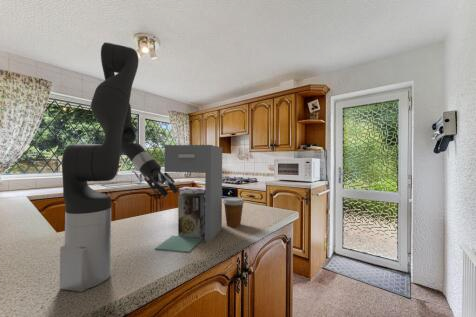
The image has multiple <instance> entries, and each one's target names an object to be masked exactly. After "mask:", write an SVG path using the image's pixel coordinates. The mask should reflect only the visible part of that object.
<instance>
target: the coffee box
mask: <svg viewBox="0 0 476 317" xmlns="http://www.w3.org/2000/svg"><path fill="white" fill-rule="evenodd" d="M177 204H178V205H177V208H178V209H177V211H178V212H177V214H178V215H177V218H178V219H177V221H178V223H177V224H178V225H177V229H178V230H177V231H178V232H177V236H185V237H198V238H202V236H203V235H204V234H205V225H204V193H182V194H180V195H179V194H178V195H177Z"/></svg>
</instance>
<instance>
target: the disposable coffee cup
mask: <svg viewBox="0 0 476 317" xmlns="http://www.w3.org/2000/svg"><path fill="white" fill-rule="evenodd" d="M222 203H223V205H224V214H225V222H226V226H227V227H229V228H238V227H240V226H241V224H242V223H241V222H242V215H243V208H244V204H245V201H244V198H242V197H239V196H229V197H225V198H223V200H222Z"/></svg>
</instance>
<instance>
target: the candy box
mask: <svg viewBox="0 0 476 317" xmlns="http://www.w3.org/2000/svg"><path fill="white" fill-rule="evenodd" d="M178 190H179V191H178V195H180V194H182V193H204V226H205V187H196V186H195V187H194V186H193V187H192V186H183V187H179V188H178Z"/></svg>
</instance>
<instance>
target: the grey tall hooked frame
mask: <svg viewBox="0 0 476 317" xmlns="http://www.w3.org/2000/svg"><path fill="white" fill-rule="evenodd" d="M165 172H166V173H198V174H199V173H205V179H204V180H205V181H204V182H205V183H204V184H205V187H204V188H205V225H204V243H207V244H208V243H209V244H211V242H212V241H213V240H214V239H215V238H216V236H217V235H218V234H219V232H220V231H222V229H223V227H222V226H223V225H222V224H223V221H222V220H223V219H222V218H223V215H222V214H223V209H222V208H223V147H221V146H216V145H213V144H165V145H164V173H165Z"/></svg>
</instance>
